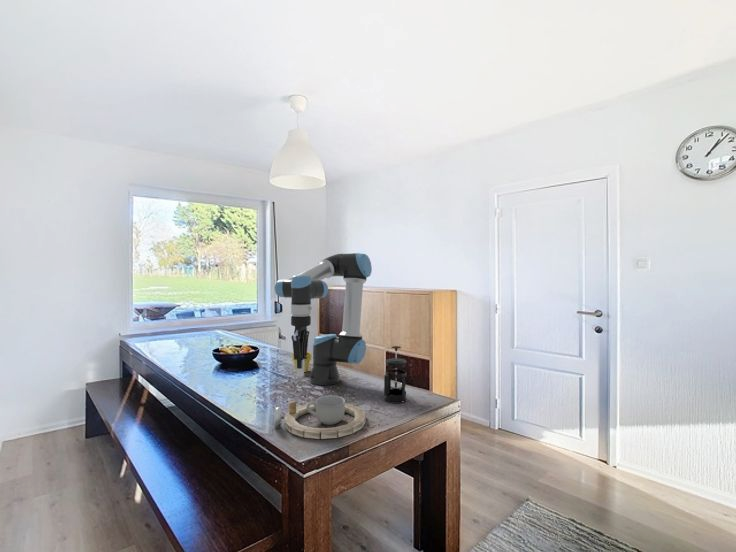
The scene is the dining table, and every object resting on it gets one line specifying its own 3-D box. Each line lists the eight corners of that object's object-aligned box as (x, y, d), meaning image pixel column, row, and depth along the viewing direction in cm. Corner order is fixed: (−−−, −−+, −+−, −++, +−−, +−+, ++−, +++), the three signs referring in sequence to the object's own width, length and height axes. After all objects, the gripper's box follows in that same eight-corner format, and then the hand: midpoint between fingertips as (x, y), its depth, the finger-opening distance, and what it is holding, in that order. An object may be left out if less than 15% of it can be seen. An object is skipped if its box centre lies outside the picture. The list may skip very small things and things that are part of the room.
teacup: (347, 416, 142) (347, 395, 142) (342, 428, 132) (342, 405, 132) (311, 415, 144) (311, 394, 144) (303, 426, 133) (303, 404, 133)
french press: (396, 394, 169) (396, 343, 169) (412, 399, 162) (412, 346, 162) (377, 400, 161) (378, 346, 161) (393, 406, 154) (394, 350, 154)
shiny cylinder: (276, 425, 133) (276, 406, 133) (284, 426, 133) (284, 407, 133) (273, 428, 131) (273, 408, 131) (281, 429, 130) (281, 409, 130)
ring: (302, 404, 154) (302, 389, 154) (371, 409, 149) (371, 394, 149) (270, 434, 126) (270, 416, 126) (354, 442, 120) (355, 423, 120)
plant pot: (305, 367, 214) (305, 350, 214) (314, 371, 206) (314, 353, 206) (288, 370, 207) (288, 353, 207) (298, 374, 199) (298, 356, 199)
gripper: (304, 317, 138) (303, 381, 138) (315, 313, 151) (315, 372, 151) (284, 316, 139) (284, 380, 139) (298, 313, 152) (297, 371, 152)
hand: (300, 376), depth 145 cm, fingers closed
